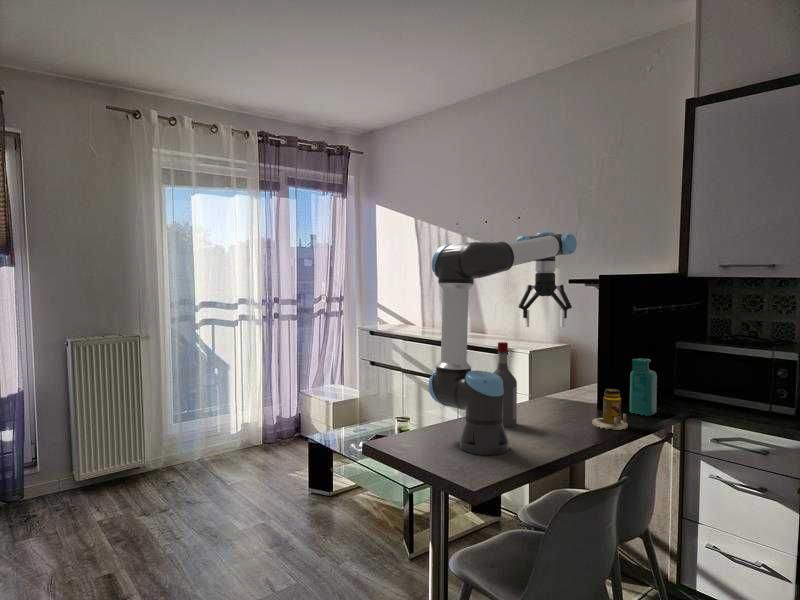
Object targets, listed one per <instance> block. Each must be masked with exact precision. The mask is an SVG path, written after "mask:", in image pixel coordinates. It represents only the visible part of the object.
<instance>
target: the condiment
mask: <svg viewBox="0 0 800 600" xmlns="http://www.w3.org/2000/svg"><path fill="white" fill-rule="evenodd" d="M602 401H603V402H602V418H603V419H599V418H600V417H597V418H595V419H596V420H597V423H598V424H609V425H614V418H615V417H616V418H617V425H620V426H621V425H623V424H622V423H621V420H622V419H621V418H622V398H621V391H620V390H619V389H616V388H605V389H604V394H603V397H602Z"/></svg>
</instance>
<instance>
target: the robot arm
mask: <svg viewBox="0 0 800 600" xmlns="http://www.w3.org/2000/svg"><path fill="white" fill-rule="evenodd" d="M577 242H578V241H577V239H576V236H575V235H574V234H573V233H570V232H569V233H567V232H566V233H565V232H564V233H563V232H562V233H554V232H551V231H549V232H548V231H544V232H537V233H535V235H520V236H518V237H517V238H516V239H515V242H509V243H508V242H506V241H496V242H486V241H473V242H460V243H457V242H455V243H454V242H453V243H450V244H449V243H448V244H444V245H441V246H440V247H439V248H438V249H437V250H436V251H435V252H434V254H433V256H432V260H431V269H432V272H433V275H434V276H435V277H436V278H438V279H437V280H438V282H437V283H438V285H439V286H440V287H441V289H442V307H441V308H442V309H441V336H440V337H441V340H440V341H441V343H440V344H441V345H440V361H439V362H438V363H437V364H436V366H435V370H434V371H433V372H432V373H431V376H430V377H429V379H428V390H429V394H430V396H431V398H432V399H433V400H434V401H435V402H436V403H438V404H441V405H443V406H444V407H450V408H454V409H459V410H461V411H465V423H464V426H463V429H462V432H461V435H460V438H459V448H460V449H461V450H462V451H464V452H466V453H469V454H472V455H480V456H481V455H482V456H496V455H501V454H505V453H507V452H508V451H509V446H510V445H509V439H508V437H507V434H506V430H505V427H504V426H503V397H504V389H503V381H502V378H501V377H500V376H498V375H497V374H494V372H491V371H484V370H472V366H471V365H470V364H469V363H468V359H467V358H468V329H469V327H468V324H469V293H470V292H469V290H470V289H471V288H472V287H473V286H474V279H482V278H485V277H489V276H492V275H496V274H500V273H503V272H507V271H509V270H511V269H512V268H513V266H514V267H515V266H518V265H522V264H526V263H531V262H535V272H536V273H535V275H534V276H535V280H534V281H535V282H534V285H532V284H527V285H526V291H525V293H524V294H523V297H522V298H521V300H520V302H519V304H518V306H517V307H518V308H519V309H521V310H522V318H523V319H525V327H526V328H530V310H529V308H530V307H531V305H532V304H533V303H534V302H535V301H536V300H537V299H538V298H539V297H551V298H552V299H553V300H554V301H555V303H557V304H558V306H559V307H560V308H561V309H559V310H560V311H559V313H560V315H559V322H560V323H559V327H560V328H565V319H567V316H568V310H570V309H572V308H573V306H572V304H571V301H570V300H569V298H568V296H567V294H566V292H565V288H564V287H565V286H564V284H559V285H558V284H557V285H556V273H555V272H556V257H558V256H567V255H572V254H574V253H575V252H576V250H577V246H578V244H577ZM533 290H535V293H533V295H532V297H531V298H530V299H529V300H528V298H529V296H530V294H531V292H532V291H533ZM556 290H557V291H559V294H560V296H561V298H562V300H563V301H562V300H561V299H560V297H559V296H558V295H557V294H556V292H555V291H556ZM527 300H528V301H527Z"/></svg>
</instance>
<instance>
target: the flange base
mask: <svg viewBox="0 0 800 600" xmlns="http://www.w3.org/2000/svg"><path fill="white" fill-rule="evenodd" d="M598 418H599V419H603V417H598ZM591 421H592V423H591V425H592V424H593V425H594V427H595V426H596V428H598V427H600V428H599V429H602V428H605V429H604V430H608V429H612V430H611V431H621V430H622V429H624V430H627V429H628V428H629V427H628V426H629V424H628V422H627V413H623V414H622V419H621V423H622V424H623V425H621V426H620V425H617V418H616V417H615V418H614V425H609V424H598V423H597V420H596V418H594V419H592V420H591ZM593 425H592V426H593ZM626 428H627V429H626Z"/></svg>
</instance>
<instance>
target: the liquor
mask: <svg viewBox="0 0 800 600" xmlns="http://www.w3.org/2000/svg"><path fill="white" fill-rule="evenodd" d="M508 352H509V345H508V342H507V341H505V342H502V341H500V342H497V367H496V369H495V370H494V371H493V373H494V374H497V375H498V376H500V377H501V378H502V381H503V389H504V397H503V426H504V428H514V427H516V425H517V419H518V418H517V413H518V412H517V410H518V409H517V408H518V407H517V406H518V405H517V403H518V401H517V399H518V395H517V394H518V392H517V389H518V382H517V379H516V377H515V375H513V374H512V373H511V370H509V366H508Z"/></svg>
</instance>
